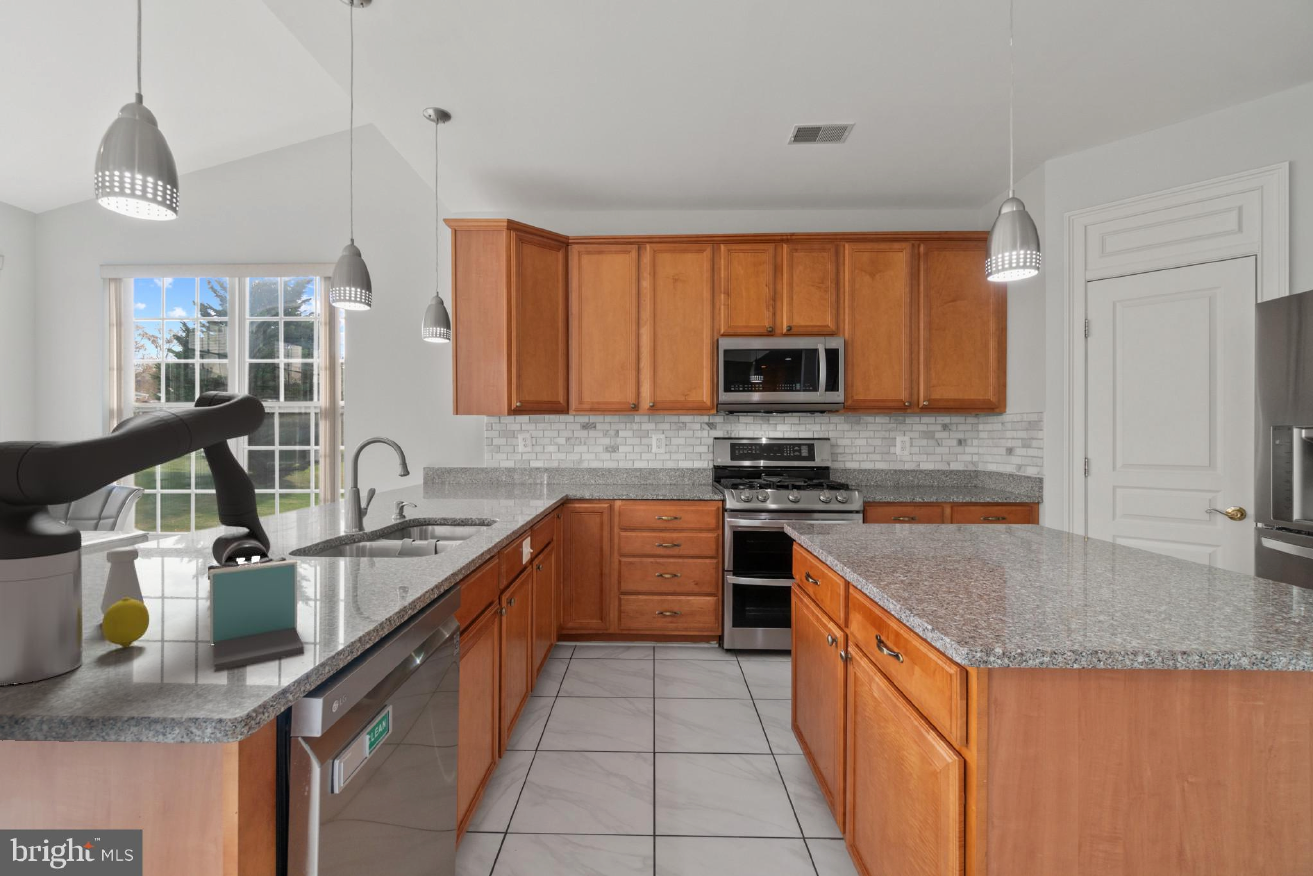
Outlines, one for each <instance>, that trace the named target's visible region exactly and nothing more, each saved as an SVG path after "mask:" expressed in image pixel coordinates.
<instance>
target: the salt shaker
mask: <svg viewBox="0 0 1313 876" xmlns="http://www.w3.org/2000/svg"><path fill="white" fill-rule="evenodd" d="M138 558H139V550H138V548H136V547H132V546H126V547H125V546H124V547H123V546H121V547H117V548H112V549H110V550H109V551H107V552H106V556H105V559H106V561H107V563H110V566H109V571H108V574H107V580H106V584H105V588H104V594H103V597H102V600H101V601H102V602H101V605H100V609H101V613H102V614H103V616H104V615H105V613H106V611H107V610H108V609H109V608H110V607H111V606H112V605H113V604H115V603H117V602H119V601H121V600H122V599H123V598H127V597H129V598H130V599H134V600H138V601H140V602H142V603H143V604H144V605H145V601H144V596H143V593H142V590H141V586H140V581H139V577H138V574H137V568H136V564H135V561H136V560H138Z"/></svg>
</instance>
